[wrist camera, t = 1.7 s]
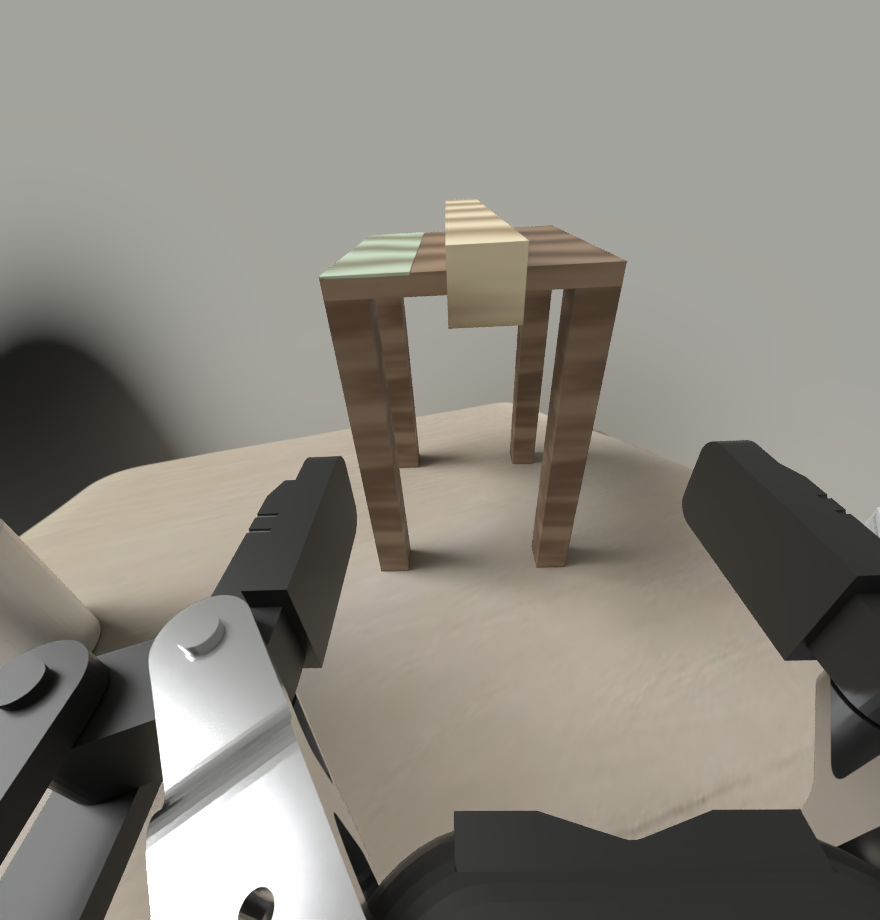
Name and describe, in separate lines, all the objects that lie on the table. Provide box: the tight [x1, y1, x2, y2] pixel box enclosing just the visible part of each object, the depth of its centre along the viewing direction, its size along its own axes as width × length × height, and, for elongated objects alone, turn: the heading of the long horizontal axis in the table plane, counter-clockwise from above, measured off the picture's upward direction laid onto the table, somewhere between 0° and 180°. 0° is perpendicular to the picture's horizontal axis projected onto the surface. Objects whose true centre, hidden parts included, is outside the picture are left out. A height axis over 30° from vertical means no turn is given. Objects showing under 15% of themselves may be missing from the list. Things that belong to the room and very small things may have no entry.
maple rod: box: [445, 198, 529, 329], centre depth 28 cm, size 32×3×3 cm, turn 179°
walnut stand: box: [319, 226, 627, 571], centre depth 43 cm, size 22×20×30 cm
